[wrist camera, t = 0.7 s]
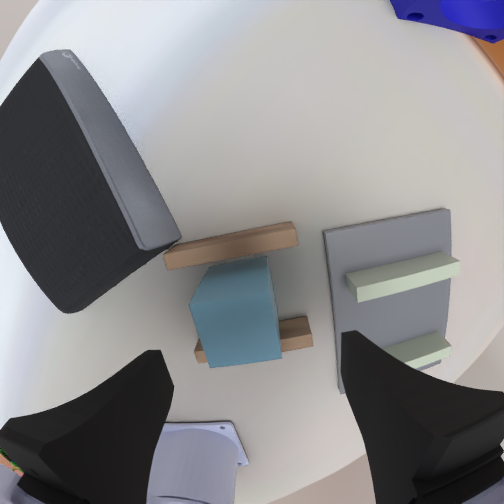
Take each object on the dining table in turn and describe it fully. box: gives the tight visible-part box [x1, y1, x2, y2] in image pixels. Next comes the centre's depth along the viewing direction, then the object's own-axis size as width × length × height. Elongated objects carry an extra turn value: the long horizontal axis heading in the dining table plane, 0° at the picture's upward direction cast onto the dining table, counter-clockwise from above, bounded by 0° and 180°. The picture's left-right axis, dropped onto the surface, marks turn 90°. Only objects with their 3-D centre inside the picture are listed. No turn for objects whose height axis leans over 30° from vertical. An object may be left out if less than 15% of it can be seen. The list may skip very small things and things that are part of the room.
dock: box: [323, 208, 460, 394], centre depth 18 cm, size 10×14×3 cm
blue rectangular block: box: [189, 256, 282, 368], centre depth 17 cm, size 4×4×6 cm
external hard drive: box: [0, 50, 181, 314], centre depth 17 cm, size 13×19×4 cm
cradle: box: [163, 222, 313, 363], centre depth 19 cm, size 8×8×2 cm
